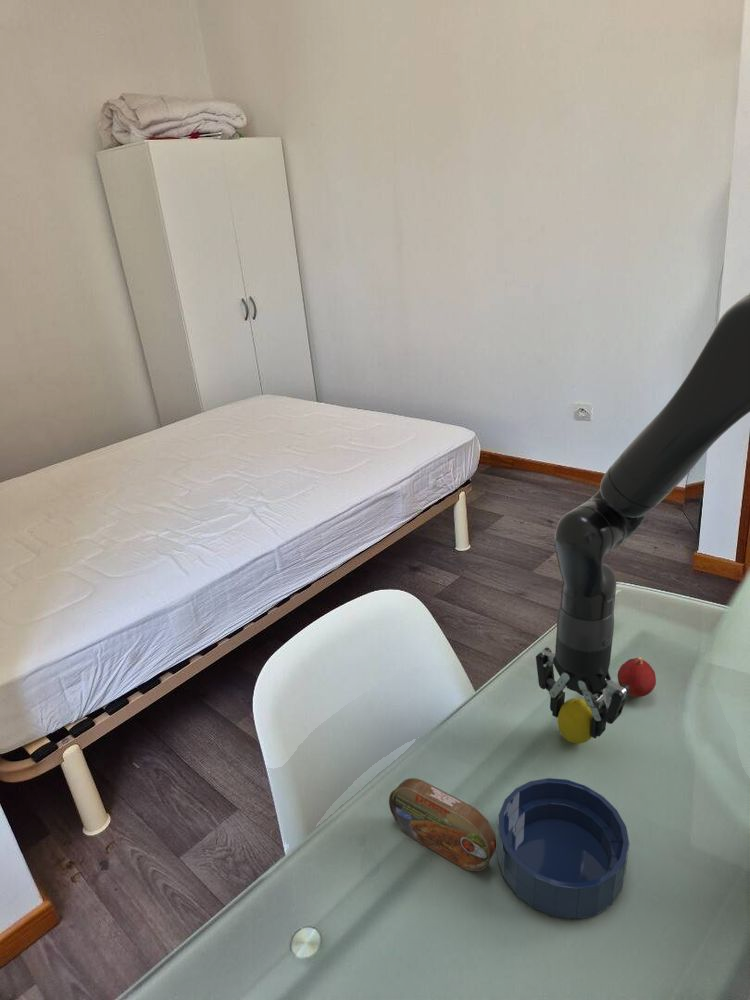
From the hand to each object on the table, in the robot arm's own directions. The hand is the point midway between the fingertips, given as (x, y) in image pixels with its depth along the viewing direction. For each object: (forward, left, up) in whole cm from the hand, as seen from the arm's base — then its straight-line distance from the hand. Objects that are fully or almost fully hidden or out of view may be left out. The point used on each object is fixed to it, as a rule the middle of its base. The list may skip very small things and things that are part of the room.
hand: (576, 723), depth 103 cm
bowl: (-9, +19, -4) cm, 21 cm away
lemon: (0, 0, -4) cm, 4 cm away
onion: (-2, -15, -4) cm, 16 cm away
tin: (+3, +27, -4) cm, 28 cm away
